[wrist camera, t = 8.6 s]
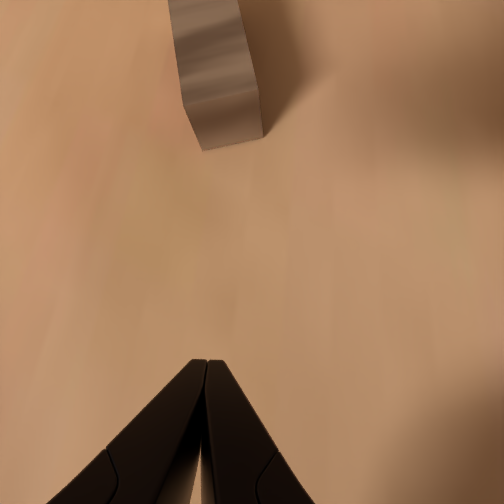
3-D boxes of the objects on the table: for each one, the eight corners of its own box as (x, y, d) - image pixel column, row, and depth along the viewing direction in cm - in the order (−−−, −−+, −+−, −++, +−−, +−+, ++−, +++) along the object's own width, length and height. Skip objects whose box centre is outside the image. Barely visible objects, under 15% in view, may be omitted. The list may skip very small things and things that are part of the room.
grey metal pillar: (258, 89, 20) (222, -63, 25) (183, 106, 21) (160, -47, 25) (263, 137, 25) (232, 3, 30) (202, 150, 25) (180, 15, 30)
